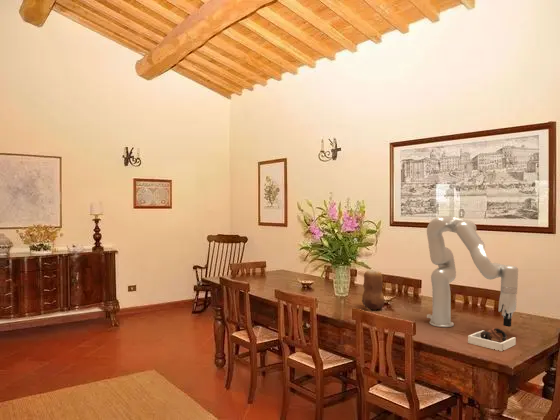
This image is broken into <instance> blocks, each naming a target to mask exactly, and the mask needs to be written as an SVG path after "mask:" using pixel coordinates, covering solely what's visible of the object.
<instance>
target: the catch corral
mask: <svg viewBox="0 0 560 420" xmlns="http://www.w3.org/2000/svg"><path fill="white" fill-rule="evenodd" d="M483 331H485V330H483V329H482V330H480V331H476V332H474V333H472V334H469V335H467V343H468V344H470V345H474V346H479V347H483V348H487V349H491V350H494V349H495V350H494V351H498V350H499V351H498V352H503V350H504V351H506V350H508V349H510V348H512V347H514V346H517V340H516V339H517V338H516V337H513V336H512V337H511V338H508V339H506V341H504V342H501V343H499V341H494V340H492V339H491V340H486V339H482V338H481V336H480V335H481V332H483ZM484 336H485V335H484Z"/></svg>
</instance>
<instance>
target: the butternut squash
mask: <svg viewBox="0 0 560 420" xmlns="http://www.w3.org/2000/svg"><path fill="white" fill-rule="evenodd" d="M382 290H383V275H382V272H380V271H379V270H373V269H368V270H366V271H365V272H364V273H363V293H362V297H361V298H362V299H361V303H362V304H363V306H364V307H365V308H367V309H369V310H371V311H378V310H379V309H382V308H383V307H384V305H385V296H384V293H383V291H382ZM377 309H378V310H377Z"/></svg>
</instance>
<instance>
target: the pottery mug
mask: <svg viewBox="0 0 560 420" xmlns="http://www.w3.org/2000/svg"><path fill="white" fill-rule="evenodd" d="M499 334H501V335H499ZM484 335H485V336H484ZM480 336H481V338H482V339H486V340H491V341H492V339H493V338H494V339H496V340H498V342H499V343H501V342H504V341H506V340H507V338H508V336H507V334H506V332H505V331H503V330H502V329H500V328H497V327H492V329H488V330H486V331H485V330H484V331H483V332H481V335H480ZM501 336H502V337H501Z"/></svg>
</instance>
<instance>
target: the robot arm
mask: <svg viewBox="0 0 560 420" xmlns="http://www.w3.org/2000/svg"><path fill="white" fill-rule="evenodd" d="M445 232H452V233H455V234H456V235H457V236H458V238H459V239H460V240H461V242H462V243H463V245H464V246H465V247H466V249H467V250H468V251H469V254H470V257H471V259H472V261H473V264H474V265H475V267H476V268H477V270H478V271H479V273H480V274H481V275H482V276H483V278H485V279H487V280H494V279H497V278H500V293H499V294H500V295H499V301H498V312H499V313H501V316H502V317H503V320H502V321H503V323H502V325H503V326H505V327H512V319H513V314H514V313H515V312H516V310H517V295H518V284H519V283H518V282H519V281H518V279H519V267H518V266H516V265H510V264H507V265H506V264H501V263H498V262H491V260H490V259H489V257H488V255H487V252H486V249H485V247H486V244H485V242H484V240H482V238H481V237H480V236H479V234H478V233H477V225H476V224H475V222H473V221H471V220H468V219H463V218H459V217H454V216H449V215H448V216H447V215H445V216H438V217H435V218H433V219H432V220H431V221H430V222H429V223H428V225H427V227H426V237H427V241H428V242H427V243H428V249H429V257H430V260H431V261H430V262H431V263H432V264H433V265H435V266H438V267H437V268H435V269H434V270H433V271H432V272H431V275H430V278H431V279H430V282H431V288H432V289H431V290H432V291H431V292H432V294H431V296H432V314H430V313H428V314H426V318H427V319H430V321H429V325H431V326H434V327H438V328H439V327H440V328H450V327H451V328H452V327H454V322H453V321H451V311H452V308H451V307H452V306H451V305H452V304H451V303H452V302H451V301H452V299H451V295H452V293H451V287H450V283H451V282H454V281H455V280H456V277H457V271H456V263H455V259H454V257H455V256H454V253H453V252H452V250H451V249H450V248H448V247H446V245H445V244H446V243H445V239H444V237H443V233H445Z"/></svg>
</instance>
